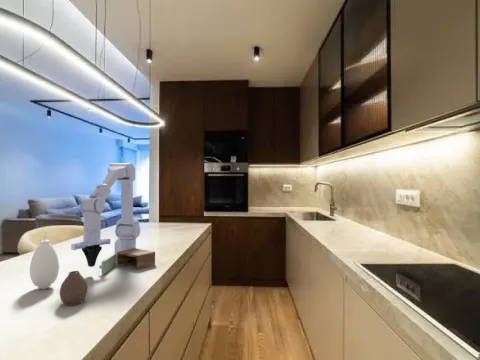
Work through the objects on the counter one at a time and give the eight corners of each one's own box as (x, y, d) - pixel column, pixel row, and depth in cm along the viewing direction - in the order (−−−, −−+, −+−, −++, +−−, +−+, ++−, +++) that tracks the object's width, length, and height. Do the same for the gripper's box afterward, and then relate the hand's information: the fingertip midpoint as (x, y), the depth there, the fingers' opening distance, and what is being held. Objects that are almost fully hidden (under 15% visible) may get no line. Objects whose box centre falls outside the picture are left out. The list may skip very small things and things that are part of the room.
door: (111, 264, 128) (111, 253, 128) (116, 264, 128) (116, 253, 128) (98, 273, 114) (99, 261, 114) (104, 273, 114) (104, 261, 114)
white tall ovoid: (37, 294, 93) (38, 235, 94) (24, 289, 98) (26, 232, 98) (63, 286, 100) (64, 231, 100) (50, 282, 104) (51, 229, 105)
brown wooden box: (116, 265, 128) (116, 251, 128) (134, 260, 136) (134, 248, 136) (137, 269, 121) (138, 255, 121) (155, 264, 129) (155, 251, 129)
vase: (58, 309, 82) (59, 276, 82) (60, 300, 88) (60, 270, 88) (87, 305, 85) (88, 273, 86) (87, 296, 91) (87, 267, 92)
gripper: (79, 232, 106) (78, 272, 106) (115, 228, 118) (115, 263, 118) (68, 231, 110) (67, 269, 109) (104, 226, 122) (103, 261, 122)
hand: (91, 266), depth 114 cm, fingers closed
